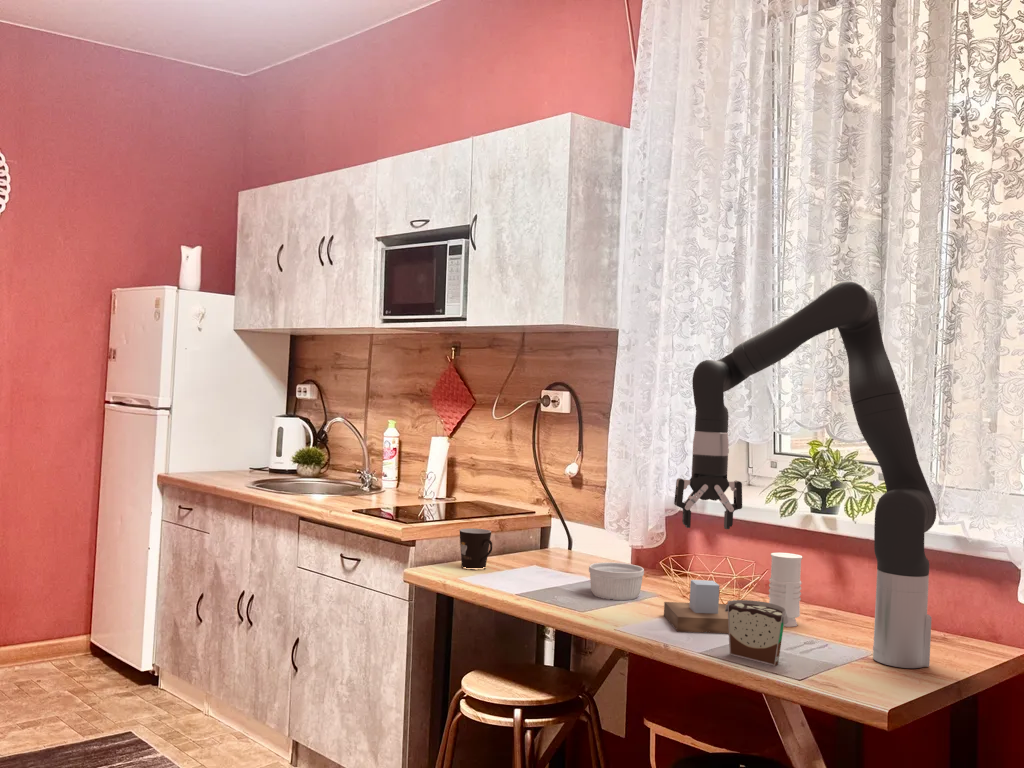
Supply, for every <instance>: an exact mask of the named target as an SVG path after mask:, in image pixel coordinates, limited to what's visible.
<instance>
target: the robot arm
mask: <svg viewBox="0 0 1024 768" xmlns="http://www.w3.org/2000/svg"><path fill="white" fill-rule="evenodd" d="M836 328H837V330H838V332H839V335H840V337H841V339H842V343H843V346H844V349H845V352H846V356H847V361H848V386H849V387H848V388H849V396H850V401H851V405H852V408H853V409H852V410H853V412H854V415H855V419H856V422H857V426H858V429H859V431H860V433H861V435H862V437H863V439H864V441H865V442H866V444H867V446H868V447H869V450H870V451H871V452H872V454H873V455H874V457H875V459H876V460H877V463H878V465H879V467H880V470H881V472H882V475H883V476H882V477H883V480H884V481H883V482H884V485H885V489H886V492H885V493H883V494H882V495H881V497H880V498H879V499H878V501H877V503H876V506H875V511H874V524H873V525H874V527H873V528H874V531H873V532H874V540H873V541H874V542H873V547H874V548H873V549H874V555H875V559H876V562H877V565H876V582H875V583H876V588H875V608H874V627H873V630H874V631H873V645H872V658H873V660H874V661H876V662H878V663H880V664H883V665H887V666H891V667H896V668H902V669H919V668H920V669H921V668H924V667H926V668H927V667H928V668H929V667H930V661H931V643H932V642H931V640H932V637H931V636H932V621H933V620H932V615H930V614H928V604H929V603H928V601H929V598H928V597H929V578H930V576H929V575H930V560H929V559H928V557H926V556H927V555H926V552H925V533H926V532H928V531H930V529H932V527H933V526H934V524H935V522H936V519H937V506H936V503H935V500H934V497H933V496H932V495H933V494H932V493H931V491H930V487H929V485H928V482H927V480H926V478H925V476H924V475H925V474H924V473H923V470H922V467H921V464H920V462H919V459H918V456H917V453H916V446H915V443H914V438H913V434H912V431H911V427H910V424H909V419H908V416H907V415H908V414H907V411H906V407H905V403H904V400H903V397H902V394H901V389H900V387H899V385H898V382H897V377H896V376H895V372H894V369H893V366H892V364H891V361H890V360H889V357H888V356H889V355H888V354H887V351H886V348H885V344H884V340H883V335H882V329H881V325H880V318H879V311H878V305H877V301H876V299H875V296H874V294H873V293H872V292H871V291H870V290H869V289H868V288H867V287H865V286H864V285H862V284H860V282H857V281H854V280H843V281H839V282H837V283H834V284H833V285H832V286H830V287H829V288H828V289H826V290H825V291H824V292H822V293H821V294H819V296H817V297H816V298H814V299H813V300H812V301H810V302H809V303H808V304H806V305H805V306H804V307H802V308H801V309H799V310H798V311H797V312H795V313H793V314H792V315H790V316H788V317H787V318H786V319H783V320H782V321H781V322H778V323H777V324H775V325H773V326H771V327H770V328H768V329H766V330H764V331H761V332H760V333H758V334H756V335H754V336H753V337H751V338H749V339H747V340H745V341H744V342H742V343H739V344H738V345H737V346H736V347H734V349H733V351H732V352H731V353H729V354H727V355H726V356H724V357H722V358H719V359H718V360H714V359H706V360H703V361H701V362H699V363H698V364H697V365H696V366H695V369H694V370H693V375H692V380H691V381H692V394H693V402H694V408H695V419H694V434H693V435H694V436H693V439H692V461H691V477H690V479H683V478H679V477H678V478H677V479H676V482H675V490H674V491H675V492H674V500H673V501H674V502H673V504H674V505H675V506H676V507H678V508H681V510H682V521H681V522H682V525H684V527H685V528H686V529H690V528H691V522H692V520H691V519H692V510H691V508H692V507H693V506H694V505H695V504H696V503H697V502H698V501H699V500H701V501H708V500H711V501H714V502H715V501H718V500H719V502H720V503H721V505H722V506H723V507H724V509H725V511H724V512H723V513H724V515H723V516H724V518H723V528H724V529H725V530H730V529H731V528H732V527H733V524H734V512H735V511H738V510H742V508H743V483H742V482H741V481H739V480H734V481H729V480H728V471H729V470H728V468H729V467H728V466H729V452H730V449H729V442H730V441H729V409H728V407H726V405H725V398H724V396H725V395H724V394H725V392H727V391H729V390H731V389H733V388H735V387H736V386H738V385H739V384H741V383H742V382H744V381H745V380H746V379H748V378H749V377H750V376H753V375H755V374H757V373H760V372H761V371H763V370H765V369H767V368H769V367H770V366H773V365H775V364H777V363H778V362H780V361H782V360H783V359H785V358H786V357H787V356H789V355H790V354H792V353H793V352H794V351H795V350H796V349H798V348H799V347H801V346H802V345H803V344H804V343H806V342H807V341H810V340H812V339H813V338H815V337H817V336H818V335H821V334H823V333H825V332H829V331H831V330H835V329H836ZM688 486H689V487H690V488H691V490H692V492H690V494H689V495H688V497H687V498H686V500H685V501H684V502H683V499H684V492H685V491H684V490H686V489H687V488H688ZM728 488H730V491H732V492H733V503H731V502H730V500H729V498H728V497H727V496H726V494H725V492H726V491H727V490H728Z"/></svg>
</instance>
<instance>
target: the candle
mask: <svg viewBox="0 0 1024 768" xmlns="http://www.w3.org/2000/svg"><path fill="white" fill-rule="evenodd" d="M770 557H771V565H770V567H771V568H770V578H769V579H768V581H769V584H768V587H769V589H768V593H769V594H768V598H769V602H768V603H771V604H775V605H778V606H781V607H783V608H784V609H785V610H786V613H787V617H788V623H787V624H784V627H787V628H789V627H797V626H798V623H797V620H796V618H799V617H800V616H801V610H800V601H801V600H802V598H801V596H802V592H801V590H802V586H801V585H802V584H803V581H801V572H802V571H801V570H802V559H803V556H802V555H801V554H797V553H796V554H795V553H791V552H790V553H789V552H771V553H770Z"/></svg>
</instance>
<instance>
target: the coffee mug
mask: <svg viewBox="0 0 1024 768" xmlns="http://www.w3.org/2000/svg"><path fill="white" fill-rule="evenodd" d="M491 537H492V530H489V529H486V528H485V529H484V528H471V527H470V528H469V527H468V528H461V529H459V543H460V560H461V562H460V563H461V567H462V566H463V567H466V568H483V567H487V566H486V565H487V560H488V557H489V556H490V554H491V553H492V550H493V542H492V540H491Z"/></svg>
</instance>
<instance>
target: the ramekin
mask: <svg viewBox="0 0 1024 768" xmlns="http://www.w3.org/2000/svg"><path fill="white" fill-rule="evenodd" d="M588 573H589V578H590V579H589V580H590V589H591V593H593V596H595V595H596V596H595V597H597V596H599V597H598V598H600V597H602V598H601V599H604V598H606V599H605V600H610V599H613V600H612V601H632V600H636V599H637V598H638V596H640V594H641V589H642V584H643V583H642V582H643V576H644V575H645V568H643V567H642V566H640V565H637V564H636V565H635V564H631V563H625V562H614V561H613V562H612V561H611V562H610V561H609V562H607V561H605V562H594V563H591V564H590V565H589V566H588Z"/></svg>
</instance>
